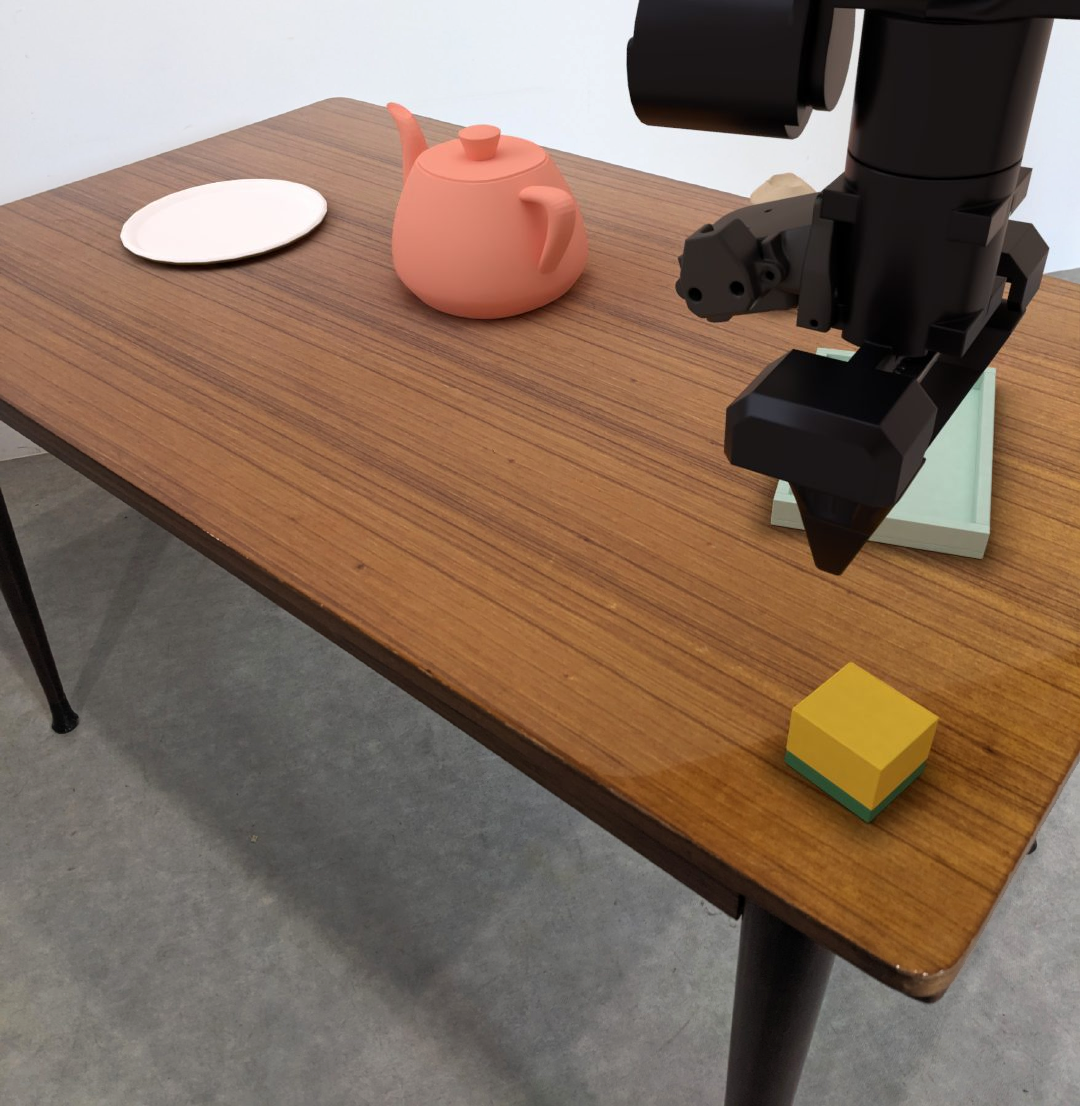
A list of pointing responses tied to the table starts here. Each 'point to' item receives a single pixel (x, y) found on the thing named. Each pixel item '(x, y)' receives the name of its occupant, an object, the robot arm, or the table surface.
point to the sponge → (859, 740)
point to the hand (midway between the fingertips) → (870, 510)
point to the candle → (780, 188)
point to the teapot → (484, 223)
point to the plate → (224, 221)
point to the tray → (935, 482)
